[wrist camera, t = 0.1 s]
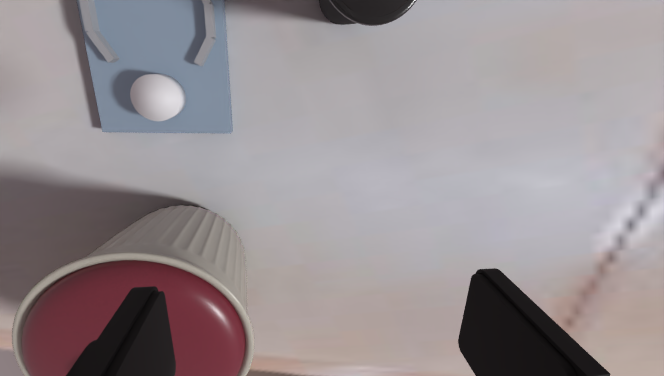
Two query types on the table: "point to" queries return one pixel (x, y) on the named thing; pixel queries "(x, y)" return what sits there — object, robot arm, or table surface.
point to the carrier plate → (158, 64)
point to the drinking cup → (364, 11)
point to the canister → (144, 271)
